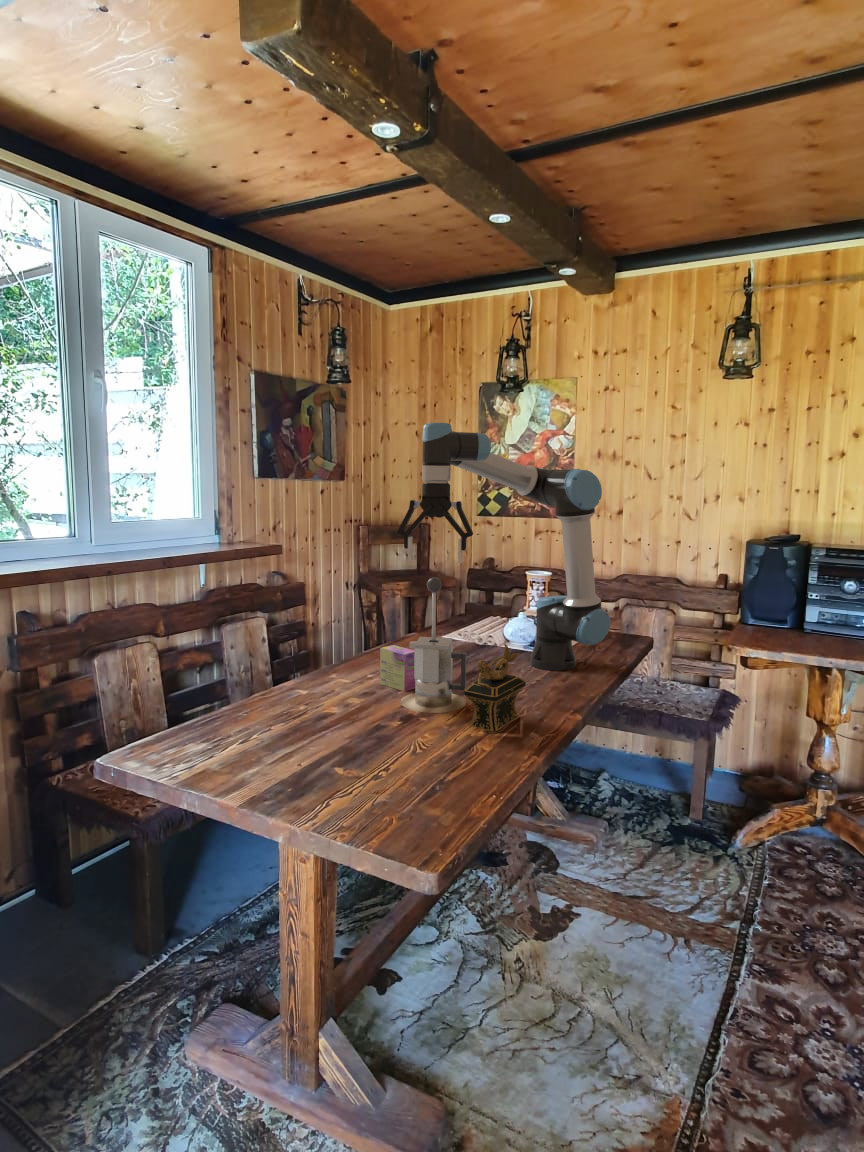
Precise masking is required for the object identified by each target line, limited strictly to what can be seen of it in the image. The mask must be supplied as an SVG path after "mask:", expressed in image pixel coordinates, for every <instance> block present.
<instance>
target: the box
mask: <svg viewBox="0 0 864 1152" xmlns="http://www.w3.org/2000/svg"><path fill="white" fill-rule="evenodd" d="M379 651H380V653H379V654H380V657H379V658H380V666H379V670H380V671H379V672H380V673H379V678H380V679H379V683H380V685H383V686H385V687H389V688H392V689H396V690H398V691H402V692H406V691H411V690H413V689H414V690H415V678H414V649H412V648H407V647H402V646H399V645H395V644H393V645H388V646H387V645H386V646H383V647H380V649H379Z"/></svg>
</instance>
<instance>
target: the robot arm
mask: <svg viewBox="0 0 864 1152" xmlns="http://www.w3.org/2000/svg"><path fill="white" fill-rule="evenodd" d="M422 428H423V431H422V438H421V442H422V463H421V464H422V468H421V470H422V472H421V480H422V481H423V483H422V484H421V499H420V501H418V500H415V499H412V500H410V501H409V506H408V507H409V508H408V510H407V512H406V514H405V516H404V518H403V519H402V522H401V523H400V526H399V527H398V529H397V534H398V535H401V536H403V547H404V549H405V550H406V549H407V562H412V561H413V536H411V534H413V532H414V531H415V530H416V528H417V527H418V526H419V525H420V524H421V523H422V522H423V520H424V519H426V517H427V518H438V519H439V518H445V520H447V521H448V522H449V524H450V525H451V526H452V528H453V529H454V530H455V532H456V533H457V534H458V535H459V536H460V537H459V538H458V539H457V540H458V545H457V564H461V563H462V562H463V561H462V560H463V551H464V552H465V551H466V550H467V538H469V537H472V536H473V535H474V532H473V529H472V526H471V525H470V522H469V520H468V518H467V516H466V513H465V512H464V510H463V503H462V501H461V500H457V501H451V484H450V483H449V482H450V481H451V470H452V469H451V466H454V467H457V468H459V469H462V470H464V471H468V472H470V473H472V474H475V475H478V476H480V477H482V478H486V479H488V480H491V481H493V482H496V483H499V484H500V485H504V486H506V487H509V488H511V489H514V490H516V491H517V493H518V495H520V496H523V497H526V498H527V499H530V500H533V501H535V502H537V503H540V504H541V505H544V506H547V507H551V508H555V517H557V519H559V521H560V522H561V532H562V534H561V535H562V546H563V558H564V570H565V582H566V594H567V595H549V596H542V597H540V598H538V600H537V606H536V609H535V611H536V622H535V623H536V624H535V625H536V630H535V631H536V632H535V635H536V636H535V637H536V638H535V643H534V645H533V649H532V651H531V653H530V658H529V664H530V665H531V666H532V667H534V668H536V669H541V670H547V671H567V670H572V669H575V668H576V667H577V657H576V653H575V651H574V646H573V643H572V641H573V642H577V643H579V644H581V645H587V646H594V645H597V644H599V643H601V642H602V641H603V640H604V639H605V637H606V635H608V633H609V631H610V627H611V618H610V615H609V613H608V612H607V611H606V609H603V608H602V599H601V598H600V596H598V595H597V594H596V584H595V583H596V581H595V570H594V569H595V568H594V566H595V565H594V556H593V555H594V554H593V541H592V540H593V538H592V527H591V526H592V525H591V523H592V522H591V518H592V517H593V516H594V515H595V513H596V509H595V508H596V507H597V506H598V505H599V504H600V500H601V499H602V494H603V491H602V484H601V482H600V479H599V478H598V477H597V475H596V474H594V473H593V472H592V471H590V470H586V469H580V468H567V469H566V468H565V469H563V468H561V469H557V468H555V469H553V468H552V469H551V468H542V467H541V468H539V467H536V466H534V465H526V466H525V465H523V464H520V463H517V462H516V461H513V460H510V459H508V458H506V457H503V456H500V455H499V454H496V453H493V452H491V451H492V444H491V439H490V438H489V435H487V434H485V433H480V432H478V431H475V432H470V431H469V432H467V431H466V432H465V431H464V432H463V431H454V430H453V429H452V425H451V424H450V423H447V422H428V423H425V424H424V425H423V427H422ZM419 506H420V508H421V510H422V512H421V513H420V514H419V516H418V517H417V518H416V519H415V520H414V522H413V523H412V524H411V525H410V526H409V527H408V528H407V525H408V524H409V521H410V519H411V518H412V516H413V515H414V513H415V510H416V509H418V507H419ZM452 507H453V509H454V510H456V512H457V514H458V517H459V518H460V521H461V522H462V523H461V524H462V525H463V527H464V529H465V530H463V529H462V527H461V525H459V523H458V522H457V521H456V519H454V517H453V516H452V514H451V513H450V512H449V510H450V509H451V508H452ZM406 528H407V530H406ZM465 531H466V532H465Z"/></svg>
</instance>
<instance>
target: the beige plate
mask: <svg viewBox="0 0 864 1152" xmlns="http://www.w3.org/2000/svg"><path fill="white" fill-rule="evenodd" d="M466 703H467V700H466V698H464V697H463V696H461V695H459V694H455V693H452V702H451V704H450V705H448V706H444V707H438V708H430V707H423V706H420V705H418V704H416V703H415V692H414V693H410V694H407V695H405V696H403V697H402V698H401V700H400V704H401V706H403V707H404V708H406V709H407V710H410V711H413V712H414V711H415V712H417V713H429V714H441V713H451V712H454V711H458V710H459V709H462V708H463V707H465V706H466Z"/></svg>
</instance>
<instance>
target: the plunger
mask: <svg viewBox="0 0 864 1152" xmlns="http://www.w3.org/2000/svg"><path fill="white" fill-rule="evenodd" d="M442 586H443V585H442V581H441V580H440V578H439V577H431V578H429V579H428V580H427V582H426V588H427V590H428V591H429V592H430V593H432V595H431V596H432V598H431V599H432V600H431V601H432V602H431V605H432V606H431V608H432V609H431V611H432V612H431V637H432V640H436V636H437V635H436V634H437V632H436V630H437V629H436V627H437V625H436V624H437V592H439V591H440V590H441V589H442Z"/></svg>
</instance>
